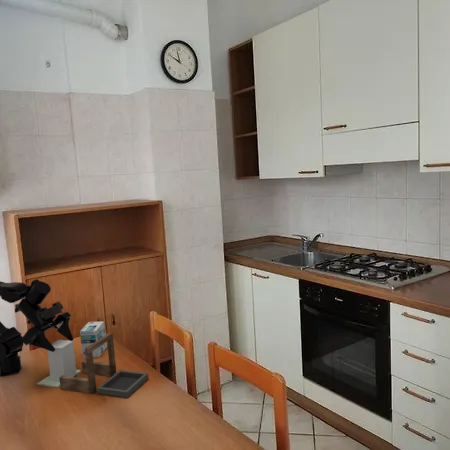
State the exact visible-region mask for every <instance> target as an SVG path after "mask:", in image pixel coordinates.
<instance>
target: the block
mask: <svg viewBox="0 0 450 450" xmlns="http://www.w3.org/2000/svg"><path fill="white" fill-rule="evenodd" d="M51 344H52V346H53V347H54V348H55V351H54V352H52V351H49V350H47V351H46V352H47V361H48V367H49V368H48V369H49V376H50V377H51V380H53V381H60V379H59V377H61V376H62V375H64V376H71V377H73V376H74V377H76V376H77V375H78V374H77V372H76V370H77V366H76V365H77V363H76V355H75V346H74V340H73V341H70V340H66V339H65V340H63V339H58V340H56V341H54V342H52V343H51ZM76 374H77V375H76Z"/></svg>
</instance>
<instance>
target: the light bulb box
mask: <svg viewBox="0 0 450 450" xmlns="http://www.w3.org/2000/svg"><path fill="white" fill-rule="evenodd" d="M79 335H80V344H81V352H82V358H83V359H86V354H85V348H86V347H88V346H89V345H91V344H93V343H94V342H96V341H97V340H99V339H100V338H102V337H104V336H105V335H107V334H106V324H105V321H89V322H87V323H86V324H85V325H84V326H83V327H82V328H81V330H80V331H79ZM107 348H108V346H107V342H106V343H104V344H103V345H101V346H100V347H98V348H97V349H95V350H94V351H92V354H93V358H100V356H102V354H103V352H104V351H105V350H106V349H107Z"/></svg>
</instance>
